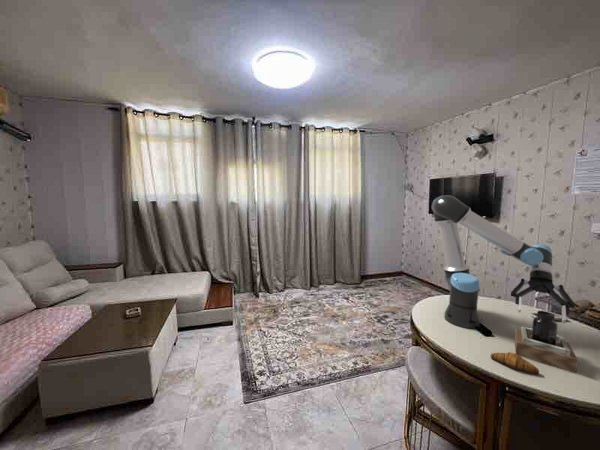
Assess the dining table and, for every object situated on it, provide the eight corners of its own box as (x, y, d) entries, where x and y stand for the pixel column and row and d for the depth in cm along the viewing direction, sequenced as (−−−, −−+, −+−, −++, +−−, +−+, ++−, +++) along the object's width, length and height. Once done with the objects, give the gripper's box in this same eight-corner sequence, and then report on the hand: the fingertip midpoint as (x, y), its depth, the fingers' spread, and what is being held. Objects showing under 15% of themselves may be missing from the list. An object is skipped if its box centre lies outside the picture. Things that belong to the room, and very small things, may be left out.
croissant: (538, 370, 87) (539, 357, 87) (539, 380, 82) (541, 366, 82) (490, 354, 96) (492, 342, 96) (489, 362, 91) (490, 350, 91)
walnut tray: (515, 354, 96) (517, 337, 95) (514, 338, 106) (515, 323, 106) (575, 372, 86) (578, 354, 85) (567, 353, 96) (569, 337, 96)
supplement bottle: (552, 340, 97) (555, 312, 95) (558, 349, 91) (562, 319, 90) (529, 335, 100) (532, 307, 99) (533, 343, 95) (537, 314, 93)
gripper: (578, 284, 107) (582, 329, 98) (505, 272, 123) (502, 310, 114) (583, 275, 103) (587, 322, 93) (506, 264, 119) (503, 303, 109)
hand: (540, 316), depth 103 cm, fingers open, 13 cm apart
